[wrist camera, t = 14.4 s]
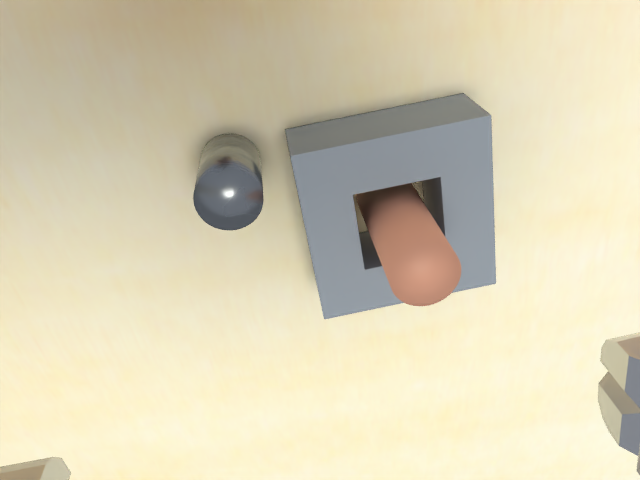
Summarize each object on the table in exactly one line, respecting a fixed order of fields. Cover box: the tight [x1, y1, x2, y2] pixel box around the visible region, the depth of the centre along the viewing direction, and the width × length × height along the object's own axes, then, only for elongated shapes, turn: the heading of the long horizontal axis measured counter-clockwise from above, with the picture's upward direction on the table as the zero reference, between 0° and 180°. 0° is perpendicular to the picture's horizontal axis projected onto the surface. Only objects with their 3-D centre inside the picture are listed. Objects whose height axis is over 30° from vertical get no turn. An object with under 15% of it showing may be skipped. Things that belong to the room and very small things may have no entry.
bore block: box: [285, 93, 496, 319], centre depth 40 cm, size 12×12×5 cm
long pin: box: [356, 183, 461, 306], centre depth 37 cm, size 4×4×11 cm
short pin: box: [193, 134, 263, 230], centre depth 37 cm, size 4×4×6 cm
